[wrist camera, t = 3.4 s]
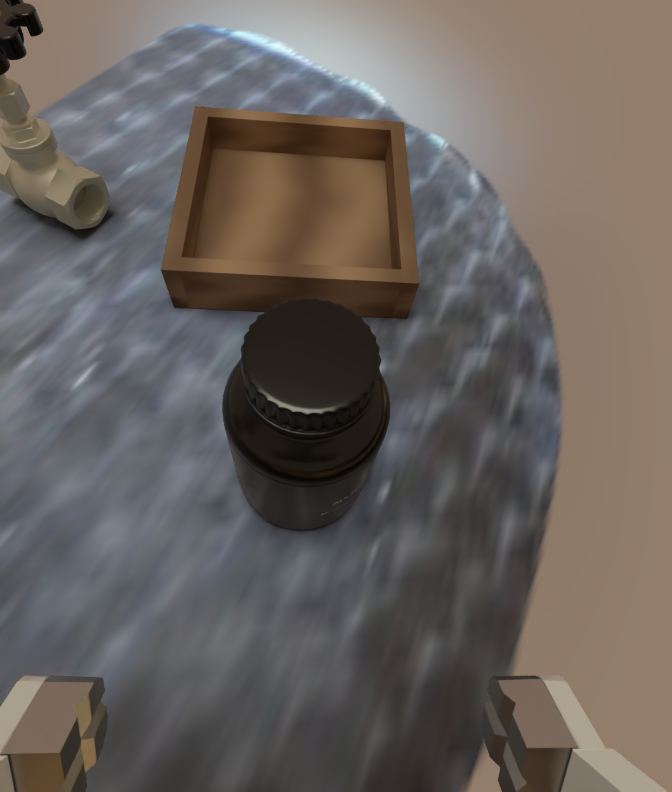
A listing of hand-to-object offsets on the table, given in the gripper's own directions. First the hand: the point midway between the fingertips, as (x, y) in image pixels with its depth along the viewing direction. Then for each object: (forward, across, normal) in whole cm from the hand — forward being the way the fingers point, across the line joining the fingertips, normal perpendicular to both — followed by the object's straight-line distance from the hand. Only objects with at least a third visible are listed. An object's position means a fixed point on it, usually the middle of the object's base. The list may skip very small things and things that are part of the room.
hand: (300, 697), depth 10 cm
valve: (+30, +17, -10) cm, 36 cm away
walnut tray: (+29, +1, -10) cm, 31 cm away
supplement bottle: (+17, 0, +3) cm, 17 cm away
